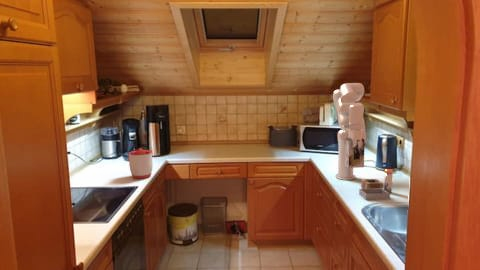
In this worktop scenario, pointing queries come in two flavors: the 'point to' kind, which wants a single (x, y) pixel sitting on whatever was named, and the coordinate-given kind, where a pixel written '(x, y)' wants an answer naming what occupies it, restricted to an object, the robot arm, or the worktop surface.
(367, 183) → the mount block
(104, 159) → the worktop surface
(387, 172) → the lock pin
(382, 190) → the dock cradle
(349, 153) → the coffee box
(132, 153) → the citrus juicer
